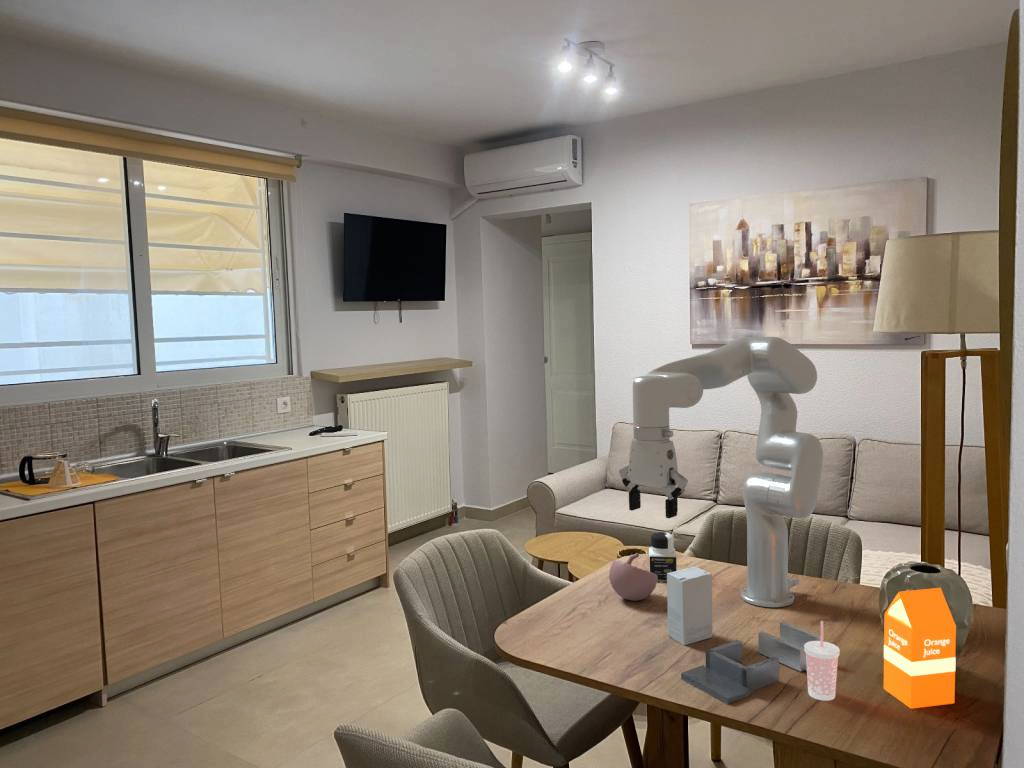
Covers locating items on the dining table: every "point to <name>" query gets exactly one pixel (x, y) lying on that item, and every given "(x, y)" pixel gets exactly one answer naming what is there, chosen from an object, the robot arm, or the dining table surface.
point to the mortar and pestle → (631, 580)
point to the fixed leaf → (731, 673)
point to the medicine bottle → (662, 555)
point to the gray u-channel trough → (787, 645)
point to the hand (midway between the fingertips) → (652, 513)
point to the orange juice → (920, 649)
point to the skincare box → (689, 605)
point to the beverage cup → (821, 668)
